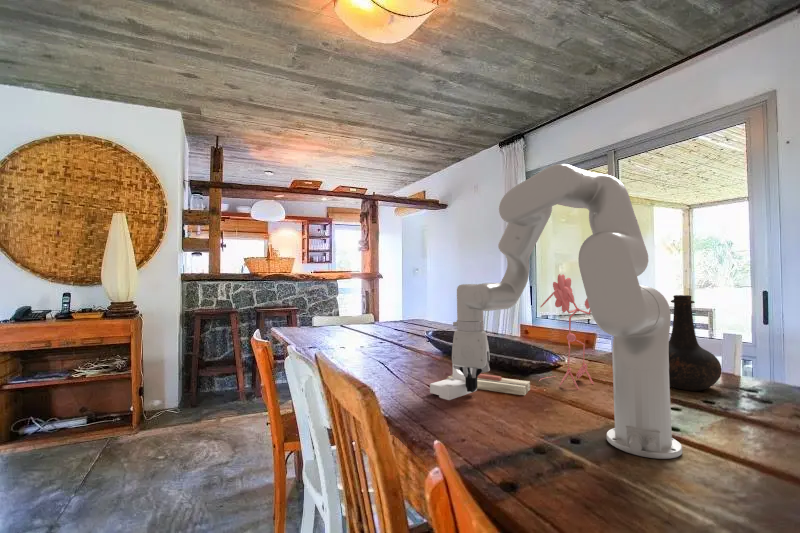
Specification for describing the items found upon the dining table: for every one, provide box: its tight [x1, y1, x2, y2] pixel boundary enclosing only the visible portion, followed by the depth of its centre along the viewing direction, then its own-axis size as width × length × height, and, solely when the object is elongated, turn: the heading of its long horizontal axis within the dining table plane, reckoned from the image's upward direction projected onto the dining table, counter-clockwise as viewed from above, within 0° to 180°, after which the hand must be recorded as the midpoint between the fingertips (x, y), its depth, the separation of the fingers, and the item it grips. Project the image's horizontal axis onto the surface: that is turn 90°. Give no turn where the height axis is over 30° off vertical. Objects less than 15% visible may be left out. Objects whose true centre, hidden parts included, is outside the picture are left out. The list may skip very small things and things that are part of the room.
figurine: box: [537, 273, 606, 390], centre depth 123 cm, size 15×26×35 cm, turn 127°
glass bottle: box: [669, 294, 723, 392], centre depth 117 cm, size 18×18×28 cm
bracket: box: [429, 363, 478, 401], centre depth 113 cm, size 13×7×8 cm, turn 133°
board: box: [447, 373, 531, 396], centre depth 118 cm, size 7×24×2 cm, turn 59°
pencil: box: [477, 373, 503, 381], centre depth 121 cm, size 14×1×1 cm, turn 54°
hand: (471, 390), depth 109 cm, fingers closed
